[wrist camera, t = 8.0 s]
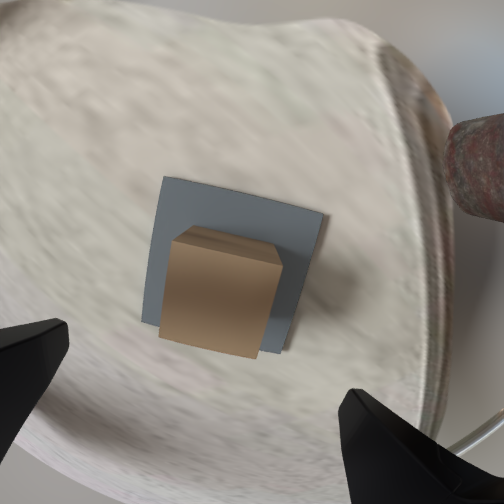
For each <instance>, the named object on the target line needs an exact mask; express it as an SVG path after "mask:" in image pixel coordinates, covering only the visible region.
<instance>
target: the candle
mask: <svg viewBox="0 0 504 504" xmlns="http://www.w3.org/2000/svg"><path fill="white" fill-rule="evenodd" d="M443 167H444V173H445V175H446V181H447V183H448V186H449V189H450V193H451V196H452V198H453V199H454V201H455V202H456V203H457V205H459V207H460V209H461V210H462V211H463V212H465V213H467V214H470V215H474V216H478V217H482V218H486V219H491V220H495V221H499V222H503V223H504V113H503V114H497V115H492V116H487V117H482V118H477V119H473V120H468V121H463V122H460V123H457V125H455V126H454V127H453V128H452V129H451V130H450V133H449V136H448V139H447V142H446V146H445V152H444V159H443Z"/></svg>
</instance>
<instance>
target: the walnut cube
mask: <svg viewBox="0 0 504 504" xmlns="http://www.w3.org/2000/svg"><path fill="white" fill-rule="evenodd" d="M282 268H283V265H282V262H281V260H280V257H279V255H278V253H277V250H276V248H275V246H274V244H273V243H269V242H265V241H260V240H256V239H252V238H247V237H243V236H239V235H234V234H230V233H225V232H221V231H217V230H212V229H208V228H203V227H199V226H195V225H193V226H191V227H190V228H189V229H187V230H186V231H184V232H183V233H182V234H180V235H179V236H178V237H176V238H175V239H173V240H172V243H171V249H170V255H169V261H168V268H167V274H166V281H165V288H164V295H163V303H162V311H161V319H160V328H159V337H160V338H163V339H167V340H171V341H175V342H179V343H182V344H186V345H191V346H195V347H199V348H203V349H207V350H212V351H216V352H221V353H226V354H231V355H236V356H241V357H246V358H251V359H256V358H257V355H258V352H259V348H260V345H261V342H262V338H263V335H264V332H265V328H266V325H267V321H268V318H269V315H270V311H271V308H272V304H273V301H274V297H275V294H276V290H277V286H278V283H279V279H280V276H281V272H282Z"/></svg>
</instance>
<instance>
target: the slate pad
mask: <svg viewBox="0 0 504 504" xmlns="http://www.w3.org/2000/svg"><path fill="white" fill-rule="evenodd" d="M322 218H323V214H322V213H319V212H315V211H311V210H308V209H304V208H300V207H296V206H293V205H289V204H285V203H281V202H277V201H273V200H269V199H265V198H261V197H257V196H253V195H249V194H245V193H240V192H236V191H232V190H227V189H223V188H218V187H214V186H209V185H205V184H200V183H195V182H191V181H186V180H181V179H176V178H171V177H166V176H164V177H163V181H162V186H161V191H160V196H159V201H158V206H157V211H156V216H155V222H154V228H153V234H152V240H151V246H150V253H149V259H148V267H147V274H146V282H145V291H144V300H143V310H142V321H141V322H144V323H147V324H150V325H154V326H157V327H160V319H161V311H162V303H163V295H164V288H165V281H166V274H167V268H168V261H169V255H170V249H171V243H172V240H173V239H175V238H176V237H178V236H179V235H180V234H182V233H183V232H184V231H186V230H187V229H189V228H190V227H191V226H193V225H195V226H199V227H203V228H208V229H212V230H217V231H221V232H225V233H230V234H234V235H239V236H243V237H247V238H252V239H256V240H260V241H265V242H269V243H273V244H274V246H275V248H276V250H277V253H278V255H279V257H280V260H281V262H282V265H283V268H282V272H281V276H280V279H279V283H278V286H277V290H276V294H275V297H274V301H273V304H272V308H271V311H270V315H269V318H268V321H267V325H266V328H265V332H264V335H263V338H262V342H261V345H260V348H259V350H260V351H265V352H271V353H277V354H281V351H282V348H283V345H284V342H285V339H286V336H287V333H288V330H289V327H290V324H291V321H292V318H293V315H294V312H295V309H296V306H297V303H298V300H299V296H300V293H301V290H302V287H303V284H304V280H305V277H306V274H307V270H308V267H309V264H310V260H311V257H312V254H313V250H314V247H315V243H316V240H317V236H318V232H319V229H320V225H321V221H322Z"/></svg>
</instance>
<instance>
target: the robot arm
mask: <svg viewBox="0 0 504 504" xmlns="http://www.w3.org/2000/svg"><path fill="white" fill-rule="evenodd" d="M68 349H69V333H68V325H67V323H66V322H65V321H63V320H60V319H58V318H54V319H49V320H44V321H39V322H34V323H29V324H24V325H18V326H13V327H8V328H3V329H0V464H1V462H2V460H3V458H4V456H5V454H6V453H7V451H8V449H9V448H10V446H11V444H12V442H13V441H14V439H15V437H16V436H17V434H18V432H19V431H20V429H21V427H22V426H23V424H24V422H25V421H26V419H27V418H28V416H29V414H30V413H31V411H32V410H33V408H34V407H35V405H36V404H37V402H38V401H39V399H40V398H41V396H42V395H43V393H44V392H45V390H46V389H47V387H48V385H49V384H50V382H51V380H52V379H53V377H54V375H55V373H56V371H57V369H58V367H59V366H60V364H61V362H62V360H63V358H64V357H65V355H66V353H67V351H68ZM338 417H339V427H340V439H341V450H342V456H343V461H344V466H345V472H346V477H347V482H348V488H349V493H350V499H351V504H504V478H501V477H496V476H494V475H491V474H489V473H487V472H485V471H483V470H481V469H480V468H478V467H476V466H474V465H472V464H470V463H468V462H466V461H465V460H463V459H461V458H459V457H458V456H456V455H454V454H453V453H451V452H450V451H448V450H447V449H445V448H444V447H442V446H440V445H439V444H437V443H436V442H435V441H433V440H432V439H430V438H429V437H428V436H426V435H425V434H423V433H422V432H420V431H419V430H418V429H416V428H415V427H413V426H412V425H411V424H409V423H408V422H406V421H405V420H404V419H402V418H401V417H399V416H398V415H397V414H395V413H394V412H392V411H391V410H390V409H388V408H387V407H386V406H384V405H383V404H382V403H380V402H379V401H378V400H376V399H375V398H374V397H372V396H371V395H370V394H368V393H367V392H366V391H364V390H363V389H354V388H352V389H350V390H349V391H348V392H347V394H346V396H345V398H344V399H343V401H342V403H341V405H340V407H339V410H338Z"/></svg>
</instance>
